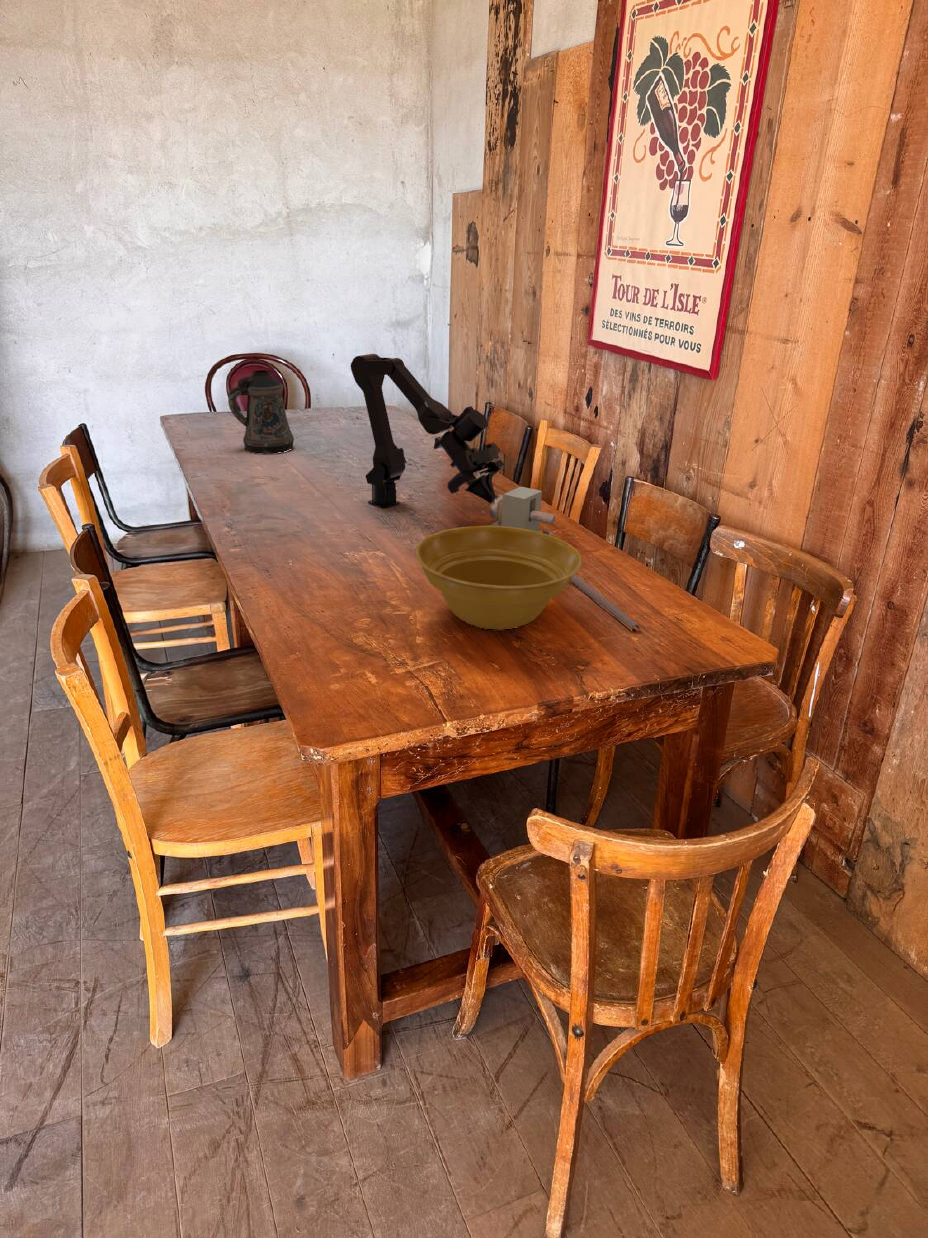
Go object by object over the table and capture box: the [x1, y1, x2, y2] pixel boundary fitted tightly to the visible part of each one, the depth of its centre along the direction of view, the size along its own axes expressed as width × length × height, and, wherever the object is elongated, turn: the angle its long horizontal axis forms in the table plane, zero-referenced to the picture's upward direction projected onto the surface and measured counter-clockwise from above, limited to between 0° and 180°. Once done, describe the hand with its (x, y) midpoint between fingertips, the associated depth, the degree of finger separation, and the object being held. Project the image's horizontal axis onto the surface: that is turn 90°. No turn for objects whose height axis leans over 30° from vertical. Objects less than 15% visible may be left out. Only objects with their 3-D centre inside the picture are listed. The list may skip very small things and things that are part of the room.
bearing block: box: [488, 486, 554, 537], centre depth 208 cm, size 16×9×12 cm, turn 57°
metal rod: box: [570, 573, 641, 629], centre depth 174 cm, size 2×27×2 cm, turn 20°
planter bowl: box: [414, 525, 583, 630], centre depth 164 cm, size 32×32×13 cm
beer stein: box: [227, 369, 295, 454], centre depth 275 cm, size 16×19×25 cm
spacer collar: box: [497, 501, 503, 523], centre depth 209 cm, size 2×5×5 cm, turn 147°
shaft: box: [489, 494, 556, 525], centre depth 207 cm, size 16×6×6 cm, turn 57°
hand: (495, 503), depth 210 cm, fingers closed, pressing on shaft
